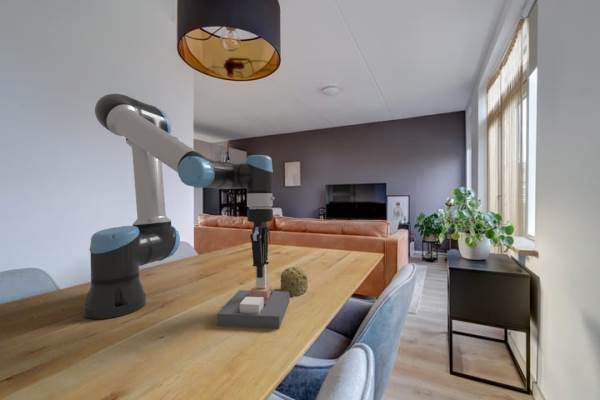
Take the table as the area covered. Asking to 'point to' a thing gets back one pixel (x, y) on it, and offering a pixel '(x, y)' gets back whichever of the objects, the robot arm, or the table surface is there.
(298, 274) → the rock
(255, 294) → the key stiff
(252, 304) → the key soft
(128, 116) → the robot arm
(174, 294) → the table surface
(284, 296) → the key panel
